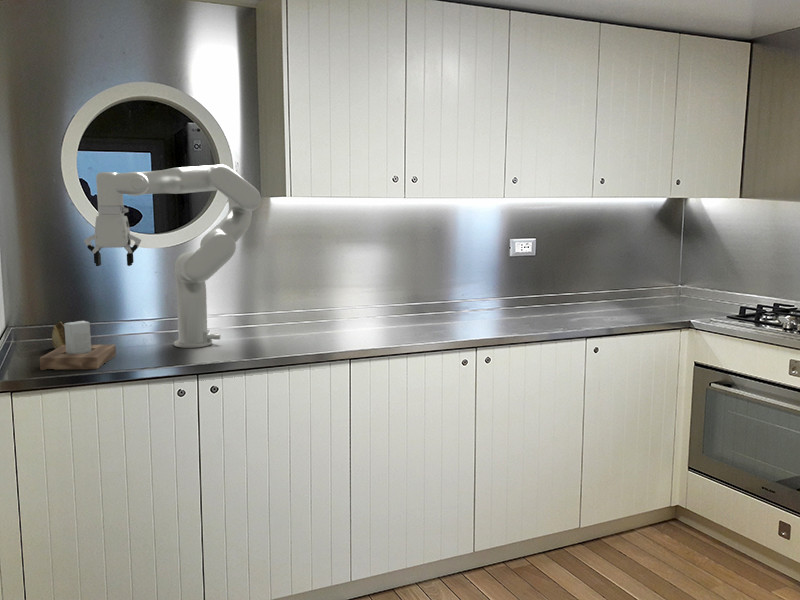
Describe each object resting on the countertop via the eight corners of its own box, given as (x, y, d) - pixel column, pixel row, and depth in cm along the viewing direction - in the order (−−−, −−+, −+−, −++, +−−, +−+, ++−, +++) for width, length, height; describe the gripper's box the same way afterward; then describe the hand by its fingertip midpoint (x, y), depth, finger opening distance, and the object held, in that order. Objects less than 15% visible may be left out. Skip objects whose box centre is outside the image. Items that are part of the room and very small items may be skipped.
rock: (43, 341, 235) (41, 342, 226) (59, 319, 237) (58, 320, 227) (73, 358, 238) (72, 361, 229) (89, 337, 240) (88, 338, 231)
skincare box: (85, 358, 219) (83, 320, 217) (92, 360, 216) (90, 321, 215) (65, 361, 214) (63, 322, 213) (73, 364, 212) (70, 324, 210)
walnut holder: (115, 355, 225) (115, 344, 224) (97, 368, 207) (96, 357, 207) (63, 356, 223) (62, 345, 223) (40, 369, 206) (39, 357, 205)
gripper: (142, 211, 229) (145, 264, 231) (86, 211, 227) (90, 264, 229) (136, 212, 221) (138, 266, 224) (78, 212, 219) (82, 267, 222)
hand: (114, 265), depth 227 cm, fingers open, 9 cm apart
